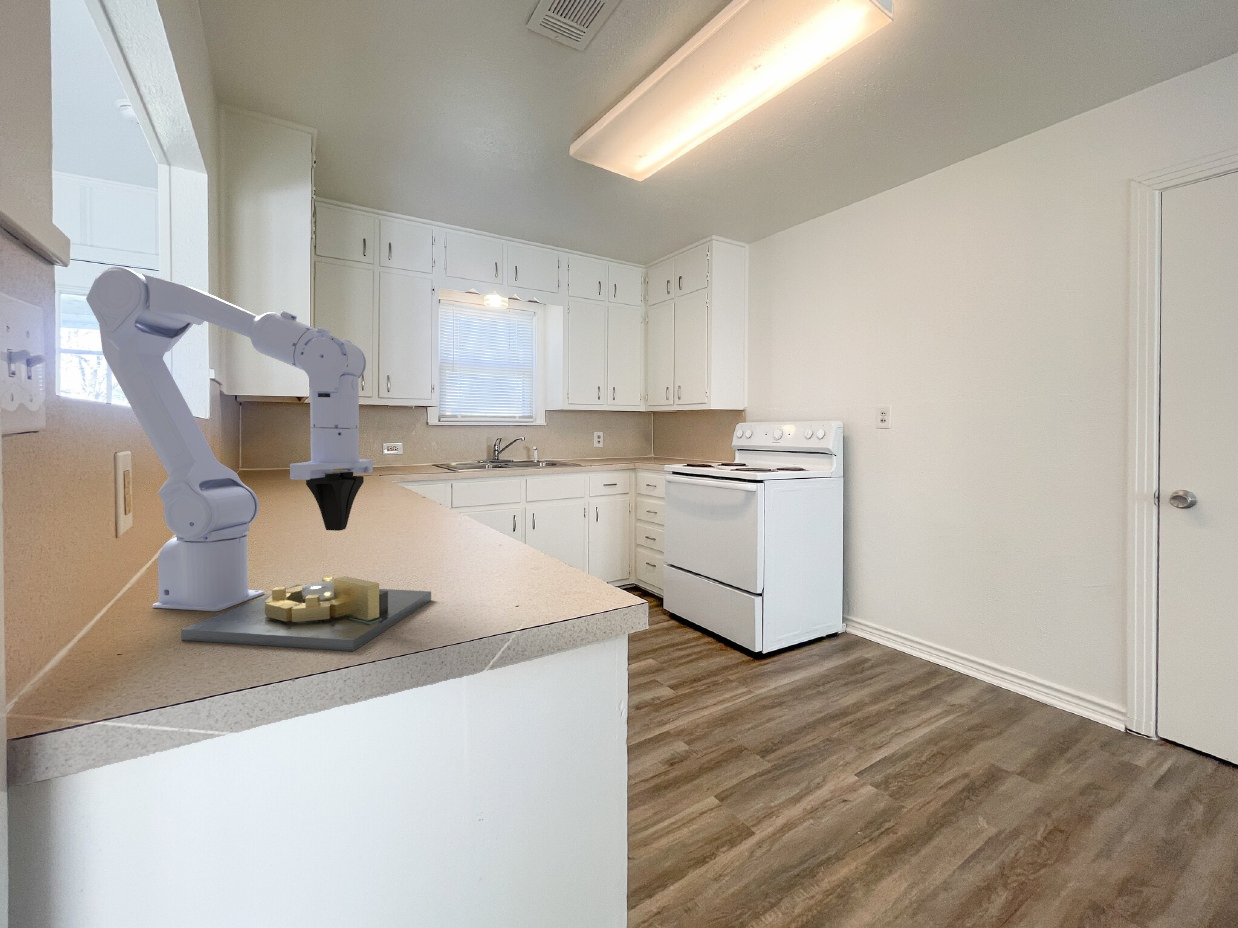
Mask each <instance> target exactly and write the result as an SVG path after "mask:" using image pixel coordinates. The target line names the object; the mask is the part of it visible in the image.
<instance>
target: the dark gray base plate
mask: <svg viewBox="0 0 1238 928" xmlns="http://www.w3.org/2000/svg"><path fill="white" fill-rule="evenodd" d="M306 584H307V585H305V584H304V585H305V586H303V587H302V602H299V603H306V602H305V598H306V597H307V596H308V595H319V594H320V602H325V601H331V600H334V582H330V581H327V582H322V581H318V582H316V581H315V582H312V583H306ZM301 585H302V584H295V585H292V586H290V587H286V589H289V588H293V587H297V586H301ZM271 595H272V593H271V594H269V595H267V596H264V597H261V598H259V599H257V600H253V601H251V602H248V603H246V604H243V605H241V606H238V607H235V608H233V609H230V610H228V611H225V612H222V613H220V614H217V615H214V616H212V617H209V618H207V619H205V620H201V621H199V622H197V623H194V624H191V625H189V626H187V627H183V628H181V629H180V630H181V631H180V635H181V637H180V638H181V639H180V640H181V641H187V642H189V641H191V642H192V641H193V642H203V643H204V642H207V643H222V644H234V645H235V644H237V645H251V646H253V645H254V646H266V647H267V646H268V647H280V648H281V647H282V648H296V649H297V648H298V649H311V650H326V651H341V652H342V651H343V652H344V651H345V652H355V651H356V650H358V649H359V648H360V647H362V646H364V645H365V644H367V643H368V642H370V641H372V640H373V639H374V638H376V637H377V636H379V635H381V634H382V633H384V632H385V631H387V630H388V629H390V628H391V627H393V626H394V625H396V624H397V623H398V622H400V621H401V620H403V619H404V618H406V617H408V616H409V615H411V614H412V613H414V612H415V611H417V610H418V609H420V608H421V607H423V606H424V605H426V604H428V603H429V602H430V601H432V591H429V590H428V591H427V590H411V589H409V590H408V589H390V588H379V617H377V618H374V619H371V620H369V621H368V620H364V619H360V618H356V617H352V616H348V615H343V616H340V617H337V618H335V617H330V619H322V620H310V621H297V622H292V620H290V621H287V622H285V621H282V620H278V619H274V618H271V617H267V616H266V614H265V601H266V600H267V599H268V598H269V597H270V596H271Z"/></svg>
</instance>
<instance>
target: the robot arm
mask: <svg viewBox="0 0 1238 928" xmlns="http://www.w3.org/2000/svg"><path fill="white" fill-rule="evenodd" d="M85 301H86V302H87V304H88V306H89V307H90V310H91V311H92V313H93V315H94V317H95V319H96V320H97V322H98V326H99V327H98V328H99V332H100V333H99V334H100V341H101V348H102V354H103V357H104V359H105V361H106V362H107V364H108V366H109V368H110V371H111V372H112V374H113V376H114V378H115V379H116V382H117V383H118V386H120V389H121V391H122V392H123V395H124V396H125V398H126V400H127V401H128V403H129V405H130V408H131V409H132V411H133V413H134V415H135V417H136V418H137V420H138V422H139V423H140V426H141V427H142V429H143V431H144V433H145V435H146V437H147V439H148V440H149V443H150V444H151V446H152V448H153V450H154V451H155V453H156V455H157V457H158V458H159V461H160V463H161V465H162V466H163V468H164V470H165V472H166V474H167V475H168V476H167V477H168V478H167V479H166V480H165V481H164V483H163V484H162V486H161V487H160V488H159V490H158V491H157V494H158V496H159V498H160V500H161V502H162V504H163V505H162V506H163V518H164V523H165V525H166V527H167V528H168V530H169V531H170V532H171V533H172V534H174V535H175V537H173V538H171V539H169V540H168V541H167V542H165V544H163V546H162V547H161V550H160V551H159V554H158V557H157V577H158V580H157V581H158V582H157V583H158V602H155V603H153V604H152V608H156V609H168V610H189V611H203V612H220V611H223V610H226V609H228V608H230V607H233V606H236V605H239V604H241V603H244V602H247V601H249V600H252V599H254V598H257V597H260V596H262V595H263V596H264V594H265V590H260V589H259V590H258V589H249V556H248V555H249V554H248V553H249V551H248V546H249V545H248V543H249V542H248V541H249V540H248V533H249V532H250V531H251V530H250V525H251V524H252V523H253V522H254V521H255V520H256V518H257V517H258V514H259V511H260V502H259V498H258V496H257V495H256V493H255V492H254V490H252V488H250V487H249V486H247V485H246V484H245V483H243V482H242V480H241V479H240V477H239V475H238V473H237V472H236V471H234V470H233V469H231V468H230V467H228V466H226V465H225V464H222V463H221V462H219V461H218V459H217V458H216V456H215V453H214V452H213V450H212V447H210V444H209V443H208V441H207V439H206V437H205V435H204V433H203V431H202V429H201V428H200V425H199V424H198V422H197V420H196V418H195V417H194V415H193V413H192V410H191V409H190V407H189V405H188V403H187V402H186V399H185V397H184V396H183V394H182V392H181V390H180V388H179V386H178V384H177V382H176V381H175V379H174V377H173V376H172V373H171V371H170V369H169V367H168V366H167V364H166V362H165V360H164V357H165V355H166V353H167V352H170V351H171V350H172V348H174V346H176V345H177V343H178V342H179V341H180V340H181V339H182V338H183V337H184V335H186V333H187V332H188V331H189V330H190V329H191V328H192V326H193V325H196V326H201V325H203V324H204V323H205V322H207V323H209V324H212V325H215V326H218V327H220V328H223V329H226V330H229V331H231V332H234V333H236V334H239V335H241V336H244V337H247V338H249V339H250V341H251V344H252V346H253V348H254V349H255V350H256V351H257V353H260V354H263V355H265V356H268V357H270V358H272V359H275V360H277V361H279V362H282V363H284V364H287V365H290V366H292V367H294V368H295V369H296V368H297V369H299V370H301V371H304V372H305V373H306V375H307V376H308V377H307V378H308V386H309V393H310V394H309V401H310V403H309V405H310V406H309V407H310V409H309V411H310V414H309V417H310V419H309V420H310V428H309V429H310V430H309V431H310V460H309V461H305V462H297V463H290V464H289V480H295V481H305V485H306V487H307V488H308V489H309V490H310V492H311V493H312V495H313V497H314V500H315V501H316V503H317V505H318V509H319V511H320V514H321V517H322V521H323V524H324V527H325V531H335V532H336V531H343V530H346V529H347V525H348V522H349V518H350V516H351V515H350V514H351V510H352V509H353V508H352V507H353V504H354V501H355V499H356V496H357V494H358V492H359V490H360V489H361V487H362V486H363V484H364V480H365V477H364V476H363V475H355V474H365V473H366V474H368V473H369V474H370V473H371V474H372V473H373V469H374V467H373V465H374V463H373V462H374V459H370V458H369V459H368V458H365V459H363V458H362V459H361V458H360V439H359V438H360V409H359V408H360V404H359V403H360V399H359V398H360V394H359V387H360V386H359V379H361V377H362V376H363V375H364V373H365V371H366V368H367V361H366V356H365V353H364V352H363V351H362V350H361V348H360V347H358V345H356V344H354V343H352V342H351V341H350V340H348V339H347V340H346V339H341V338H338V337H336V336H333V335H330V334H331V331H330V330H328V329H326V328H324V327H321V326H319V327H318V328H315V327H312V326H310V325H308V324H305V323H302V322H300V321H297V319H298V316H297V315H295V314H292V313H290V312H287V311H284V310H281V313H278V312H275V311H271V312H266V313H264V314H261V315H258V314H256V313H253V312H250V311H248V310H246V309H244V308H242V307H240V306H237V305H235V304H232V303H230V302H228V301H225V300H224V299H221V298H219V297H217V296H215V295H212V294H210V293H207V292H206V291H203V290H199V289H197V288H194V287H192V286H189V285H185V284H182V283H179V282H175V281H172V280H168V279H165V278H160V277H157V276H154V275H150V274H145V273H141V274H139V273H136V272H135V271H133V269H129V268H126V267H123V266H122V267H121V266H112V267H108V268H106V269H104V270H102V271H101V272H99V273H98V275H97V276H96V277H95V279H94V280H93V282H92V285H91V287H90V288H89V291H88V294H87V296H86V298H85ZM334 470H340V471H334Z"/></svg>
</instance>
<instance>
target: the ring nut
mask: <svg viewBox="0 0 1238 928" xmlns="http://www.w3.org/2000/svg"><path fill="white" fill-rule="evenodd" d="M327 581H330V582H334V600H331V601H325V602H320V594H319V595H308V596H307V597H306V598H305V602H306V603H299V602H302V587H303V586H305V585H307V584H308V583H306V584H300V585H301V586H297V587H293V588H289V587H288V588H289V589H287V586H277V587H274V588H273V589H271V594H272V595H271V594H270V595H271V596H270V597H269V598H268V599H267V600H266V601H265V614H266V616H267V617H271V618H274V619H278V620H282V621H285V622H287V621H290V620H292V622H297V621H310V620H322V619H330V617H335V618H337V617H340V616H343V615H348V616H352V617H356V618H360V619H364V620H368V621H369V620H371V619H374V618H377V617H379V589H380V583H379V582H377V581H372V580H371V581H370V580H365V579H361V578H356V577H350V576H341V577H337V578H335V575H334V574H333V575H323V577H321V582H327Z"/></svg>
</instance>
